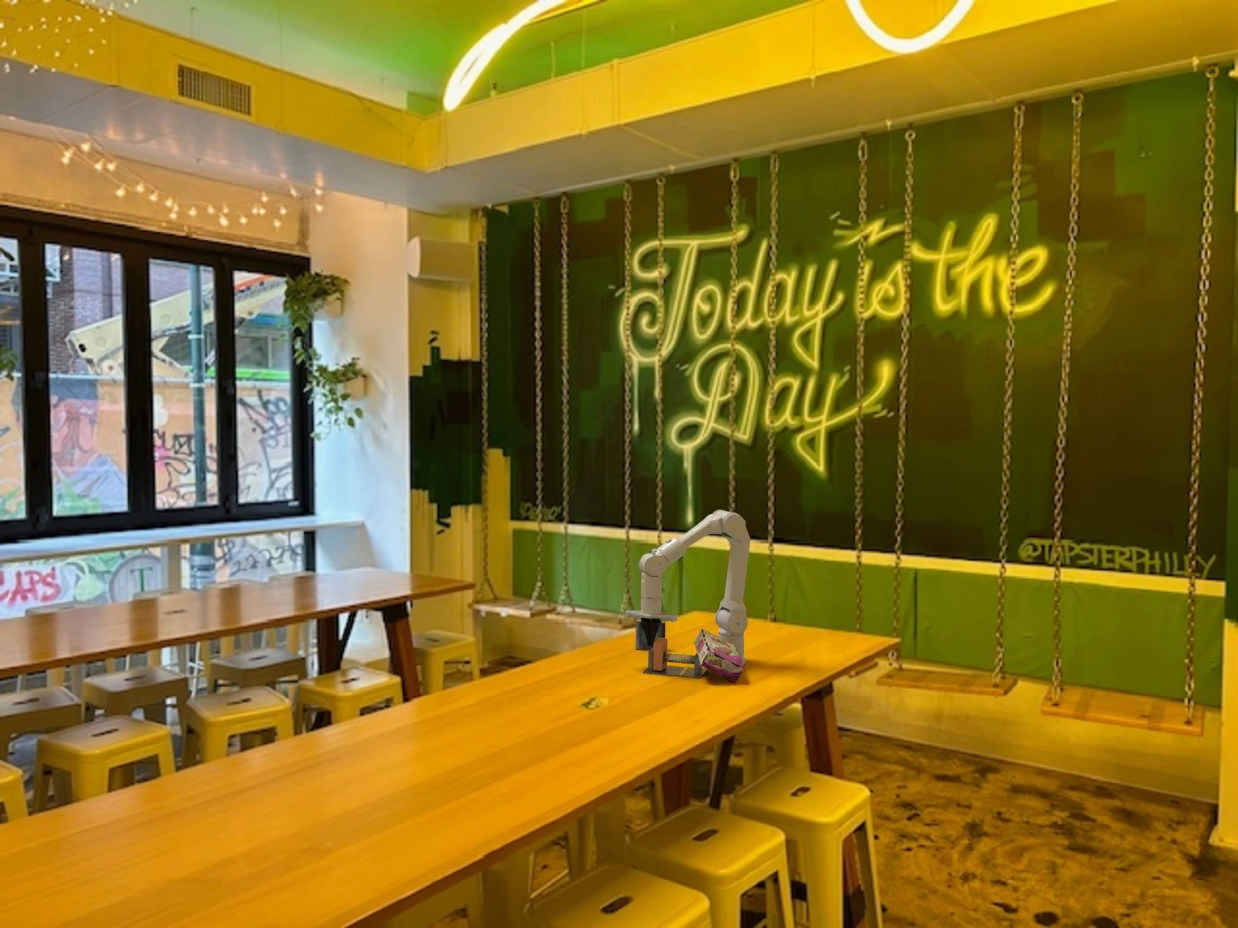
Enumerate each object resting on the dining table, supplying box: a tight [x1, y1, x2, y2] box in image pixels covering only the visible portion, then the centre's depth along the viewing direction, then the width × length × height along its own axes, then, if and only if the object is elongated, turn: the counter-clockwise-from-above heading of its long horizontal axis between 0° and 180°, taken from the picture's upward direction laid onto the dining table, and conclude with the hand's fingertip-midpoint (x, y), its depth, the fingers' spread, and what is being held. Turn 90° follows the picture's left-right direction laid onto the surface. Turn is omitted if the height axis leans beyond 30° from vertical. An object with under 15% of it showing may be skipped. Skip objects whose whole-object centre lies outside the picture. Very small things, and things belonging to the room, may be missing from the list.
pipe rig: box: [642, 648, 708, 679], centre depth 258 cm, size 9×16×6 cm, turn 73°
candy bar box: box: [693, 628, 745, 683], centre depth 254 cm, size 11×5×16 cm
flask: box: [635, 619, 666, 652], centre depth 282 cm, size 9×3×11 cm, turn 76°
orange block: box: [653, 637, 668, 671], centre depth 259 cm, size 6×2×8 cm, turn 163°
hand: (650, 645), depth 260 cm, fingers closed
